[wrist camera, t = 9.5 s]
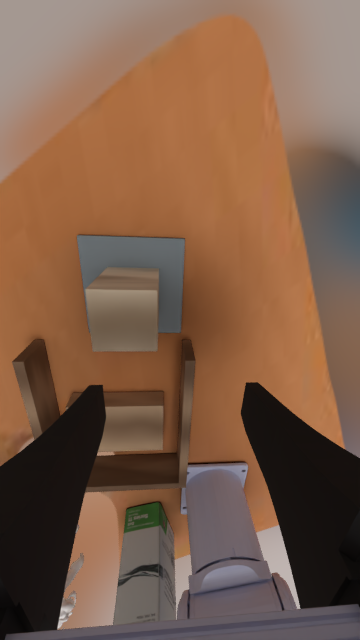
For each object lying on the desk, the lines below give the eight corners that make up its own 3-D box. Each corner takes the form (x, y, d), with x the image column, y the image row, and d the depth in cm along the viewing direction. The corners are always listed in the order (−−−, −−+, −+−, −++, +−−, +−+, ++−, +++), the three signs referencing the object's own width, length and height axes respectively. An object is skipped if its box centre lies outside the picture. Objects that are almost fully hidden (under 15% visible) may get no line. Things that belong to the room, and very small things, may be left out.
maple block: (158, 314, 21) (157, 351, 15) (111, 314, 21) (92, 351, 15) (158, 268, 19) (157, 290, 14) (107, 267, 19) (85, 289, 13)
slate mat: (180, 330, 22) (180, 332, 22) (90, 329, 22) (89, 332, 21) (184, 238, 19) (184, 238, 18) (78, 234, 18) (76, 235, 18)
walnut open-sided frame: (183, 457, 29) (186, 487, 26) (62, 461, 28) (50, 493, 25) (190, 340, 23) (195, 360, 19) (34, 339, 22) (12, 361, 18)
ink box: (124, 507, 32) (105, 656, 21) (161, 500, 32) (160, 646, 21) (142, 541, 36) (133, 683, 25) (174, 534, 36) (180, 674, 25)
